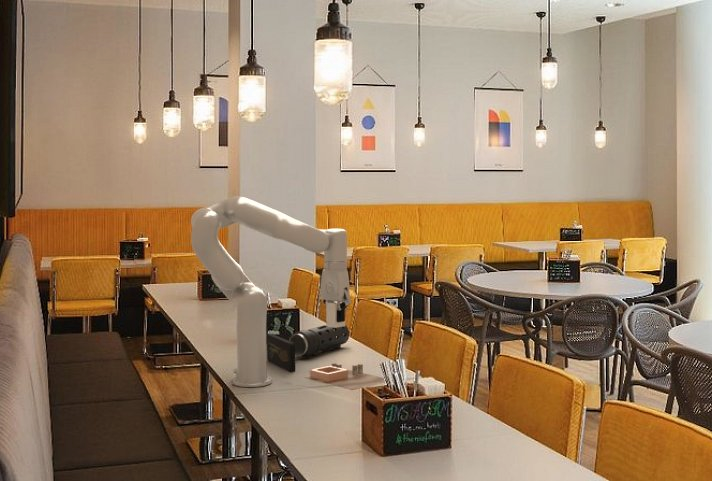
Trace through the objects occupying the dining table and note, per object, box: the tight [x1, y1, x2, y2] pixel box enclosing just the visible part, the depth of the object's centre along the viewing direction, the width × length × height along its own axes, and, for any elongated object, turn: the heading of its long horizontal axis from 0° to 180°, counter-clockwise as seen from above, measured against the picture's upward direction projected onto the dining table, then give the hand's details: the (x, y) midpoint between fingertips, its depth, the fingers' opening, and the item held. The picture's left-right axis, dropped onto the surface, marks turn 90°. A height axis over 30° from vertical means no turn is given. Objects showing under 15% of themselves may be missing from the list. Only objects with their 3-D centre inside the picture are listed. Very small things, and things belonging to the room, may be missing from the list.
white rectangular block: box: [325, 301, 346, 328], centre depth 296 cm, size 4×4×8 cm
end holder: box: [309, 365, 349, 382], centre depth 292 cm, size 9×9×2 cm
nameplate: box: [266, 333, 296, 373], centre depth 313 cm, size 21×2×10 cm, turn 28°
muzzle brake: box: [288, 324, 350, 358], centre depth 335 cm, size 10×28×10 cm, turn 148°
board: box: [304, 362, 386, 391], centre depth 290 cm, size 23×18×4 cm
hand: (335, 320), depth 296 cm, fingers closed on white rectangular block, 4 cm apart
